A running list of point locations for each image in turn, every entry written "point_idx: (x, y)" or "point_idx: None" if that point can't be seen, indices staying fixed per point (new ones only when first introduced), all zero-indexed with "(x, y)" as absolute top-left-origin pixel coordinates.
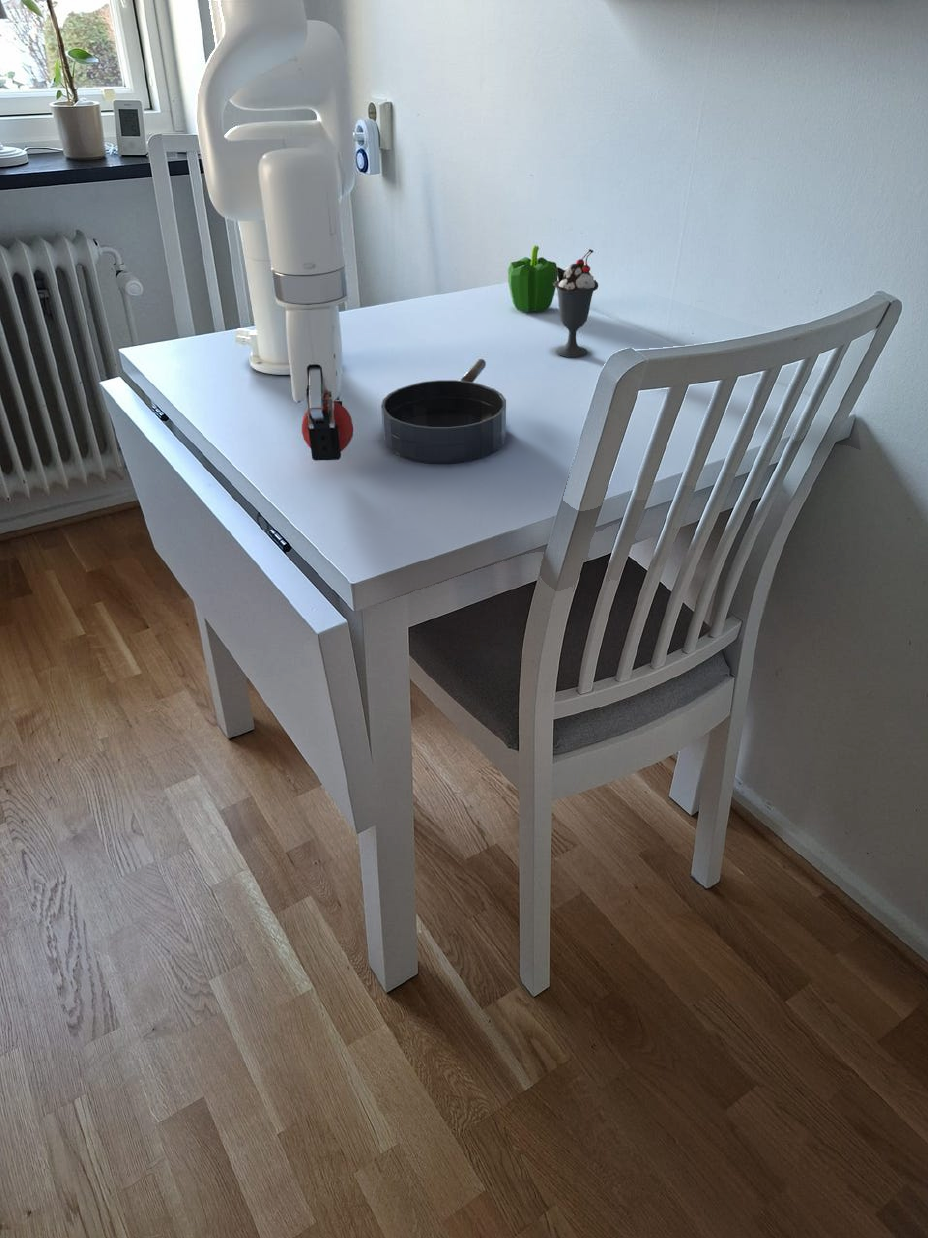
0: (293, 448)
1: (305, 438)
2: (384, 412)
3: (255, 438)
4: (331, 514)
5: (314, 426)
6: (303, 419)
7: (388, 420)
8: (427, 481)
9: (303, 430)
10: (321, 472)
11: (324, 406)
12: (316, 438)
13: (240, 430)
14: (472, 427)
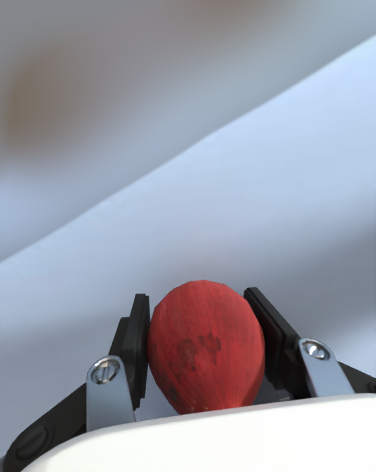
0: (272, 220)
1: (173, 294)
2: (278, 401)
3: (327, 146)
4: (40, 304)
5: (84, 385)
6: (195, 319)
7: (256, 400)
8: (145, 397)
9: (180, 301)
10: (180, 273)
11: (189, 412)
12: (112, 345)
13: (370, 110)
14: None
